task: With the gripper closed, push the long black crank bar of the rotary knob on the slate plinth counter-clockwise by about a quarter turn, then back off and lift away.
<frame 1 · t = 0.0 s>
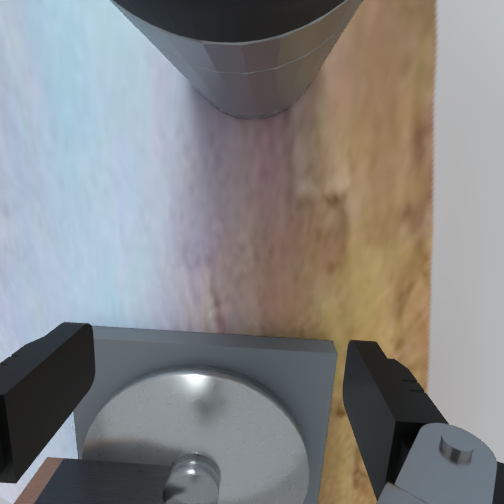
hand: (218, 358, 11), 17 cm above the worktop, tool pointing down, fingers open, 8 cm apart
rotary knob: (170, 499, 27), point 6 cm above the worktop, hinge at 0.0°
plinth: (203, 437, 33), on the worktop
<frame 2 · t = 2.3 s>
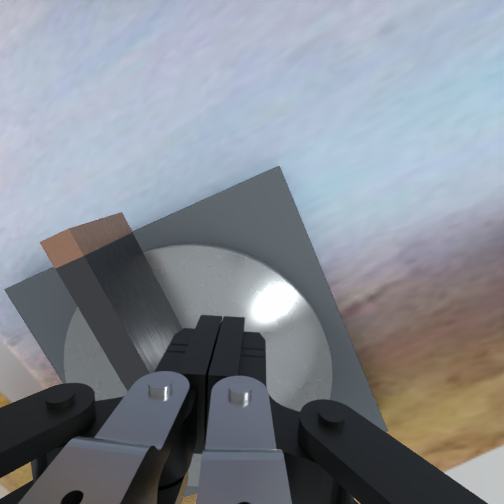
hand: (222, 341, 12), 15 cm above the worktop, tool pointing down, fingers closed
rotary knob: (179, 380, 22), point 6 cm above the worktop, hinge at 0.0°
plinth: (206, 348, 28), on the worktop
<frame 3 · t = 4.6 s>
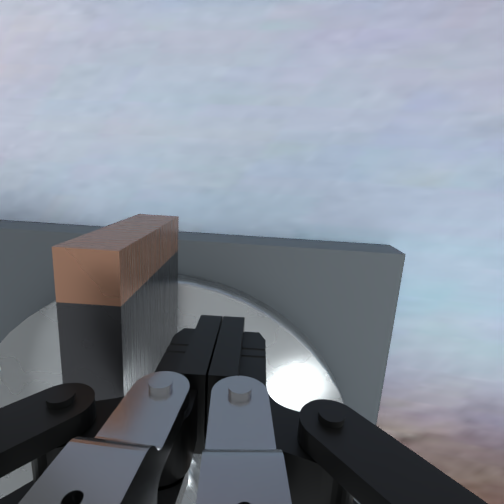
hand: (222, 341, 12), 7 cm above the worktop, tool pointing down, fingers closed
rotary knob: (144, 483, 14), point 6 cm above the worktop, hinge at 0.1°, touching gripper
plinth: (178, 411, 21), on the worktop
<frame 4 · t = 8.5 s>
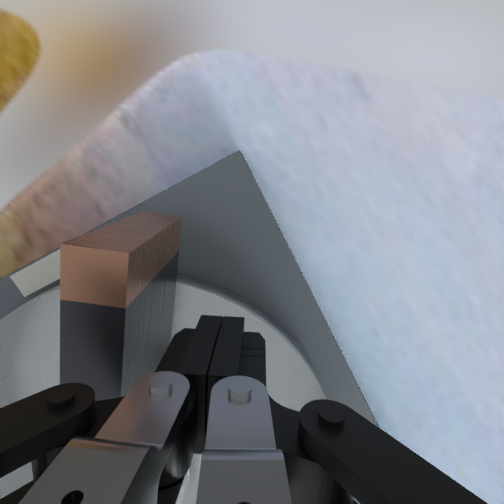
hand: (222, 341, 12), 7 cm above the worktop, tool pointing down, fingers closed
rotary knob: (127, 480, 14), point 6 cm above the worktop, hinge at 54.7°, touching gripper
plinth: (164, 407, 21), on the worktop
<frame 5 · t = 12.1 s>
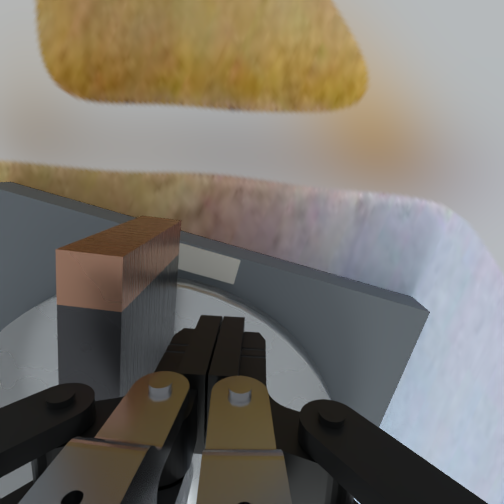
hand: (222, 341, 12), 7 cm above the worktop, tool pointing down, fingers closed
rotary knob: (132, 485, 14), point 6 cm above the worktop, hinge at 99.7°
plinth: (170, 412, 21), on the worktop
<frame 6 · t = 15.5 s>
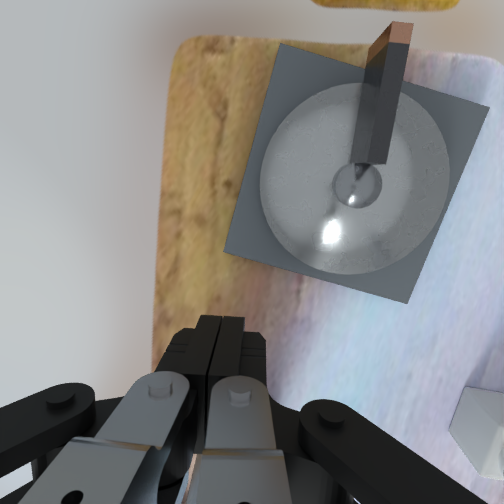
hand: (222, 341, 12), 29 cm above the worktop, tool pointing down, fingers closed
rotary knob: (362, 170, 32), point 6 cm above the worktop, hinge at 99.7°
plinth: (344, 183, 39), on the worktop
medicine bottle: (480, 412, 45), on the worktop
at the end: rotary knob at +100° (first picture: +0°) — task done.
